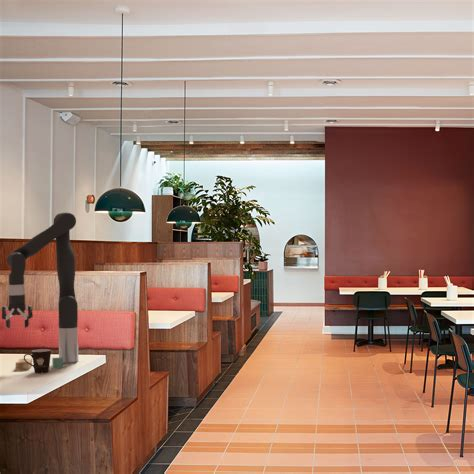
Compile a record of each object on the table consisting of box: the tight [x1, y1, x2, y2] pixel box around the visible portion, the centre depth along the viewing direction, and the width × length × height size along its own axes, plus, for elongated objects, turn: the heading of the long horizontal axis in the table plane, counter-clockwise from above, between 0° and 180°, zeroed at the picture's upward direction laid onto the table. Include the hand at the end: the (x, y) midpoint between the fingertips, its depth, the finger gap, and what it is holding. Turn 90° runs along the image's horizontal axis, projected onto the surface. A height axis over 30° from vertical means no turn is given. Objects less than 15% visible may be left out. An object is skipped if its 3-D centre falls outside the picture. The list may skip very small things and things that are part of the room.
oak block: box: [15, 357, 33, 371], centre depth 329 cm, size 6×11×4 cm, turn 9°
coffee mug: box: [23, 348, 52, 374], centre depth 318 cm, size 12×9×10 cm
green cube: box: [51, 356, 64, 369], centre depth 330 cm, size 4×4×4 cm
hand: (17, 327), depth 331 cm, fingers open, 8 cm apart
